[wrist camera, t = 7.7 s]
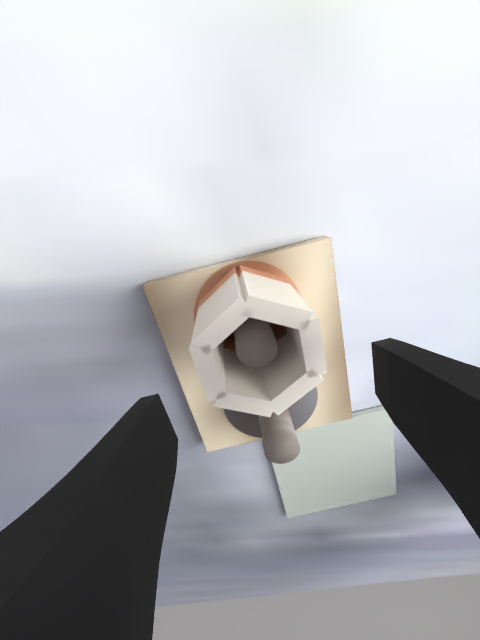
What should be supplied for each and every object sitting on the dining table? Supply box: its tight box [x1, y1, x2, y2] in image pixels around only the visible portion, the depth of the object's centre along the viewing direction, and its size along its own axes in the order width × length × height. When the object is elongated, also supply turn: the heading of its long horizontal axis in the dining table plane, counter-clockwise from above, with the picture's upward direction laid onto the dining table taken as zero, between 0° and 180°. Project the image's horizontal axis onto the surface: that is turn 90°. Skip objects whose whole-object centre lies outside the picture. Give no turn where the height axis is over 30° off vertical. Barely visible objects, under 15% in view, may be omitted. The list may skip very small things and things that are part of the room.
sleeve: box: [189, 265, 327, 417], centre depth 14 cm, size 5×6×5 cm
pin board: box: [143, 236, 352, 464], centre depth 16 cm, size 10×12×5 cm
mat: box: [272, 406, 397, 518], centre depth 22 cm, size 9×9×1 cm
